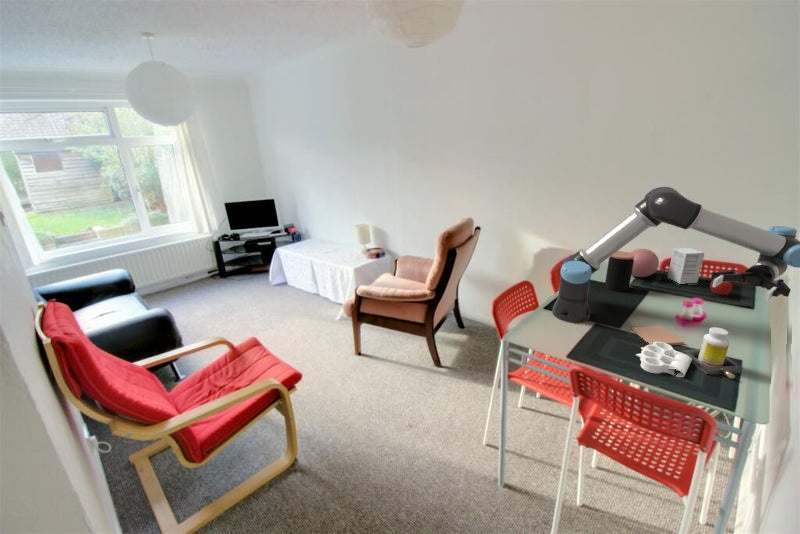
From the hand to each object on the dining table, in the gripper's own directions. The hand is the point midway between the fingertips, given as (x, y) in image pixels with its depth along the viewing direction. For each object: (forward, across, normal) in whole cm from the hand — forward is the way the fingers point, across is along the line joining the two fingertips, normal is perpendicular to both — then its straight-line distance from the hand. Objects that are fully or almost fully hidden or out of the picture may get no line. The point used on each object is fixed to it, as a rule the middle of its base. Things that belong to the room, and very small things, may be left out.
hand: (739, 289), depth 120 cm
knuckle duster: (+21, +10, -26) cm, 35 cm away
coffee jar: (-30, +52, -25) cm, 65 cm away
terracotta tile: (+5, +18, -25) cm, 31 cm away
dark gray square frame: (+11, -1, -25) cm, 27 cm away
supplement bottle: (+10, 0, -25) cm, 27 cm away
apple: (-57, +19, -25) cm, 65 cm away
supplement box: (-62, +36, -25) cm, 76 cm away
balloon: (-53, +55, -25) cm, 80 cm away
